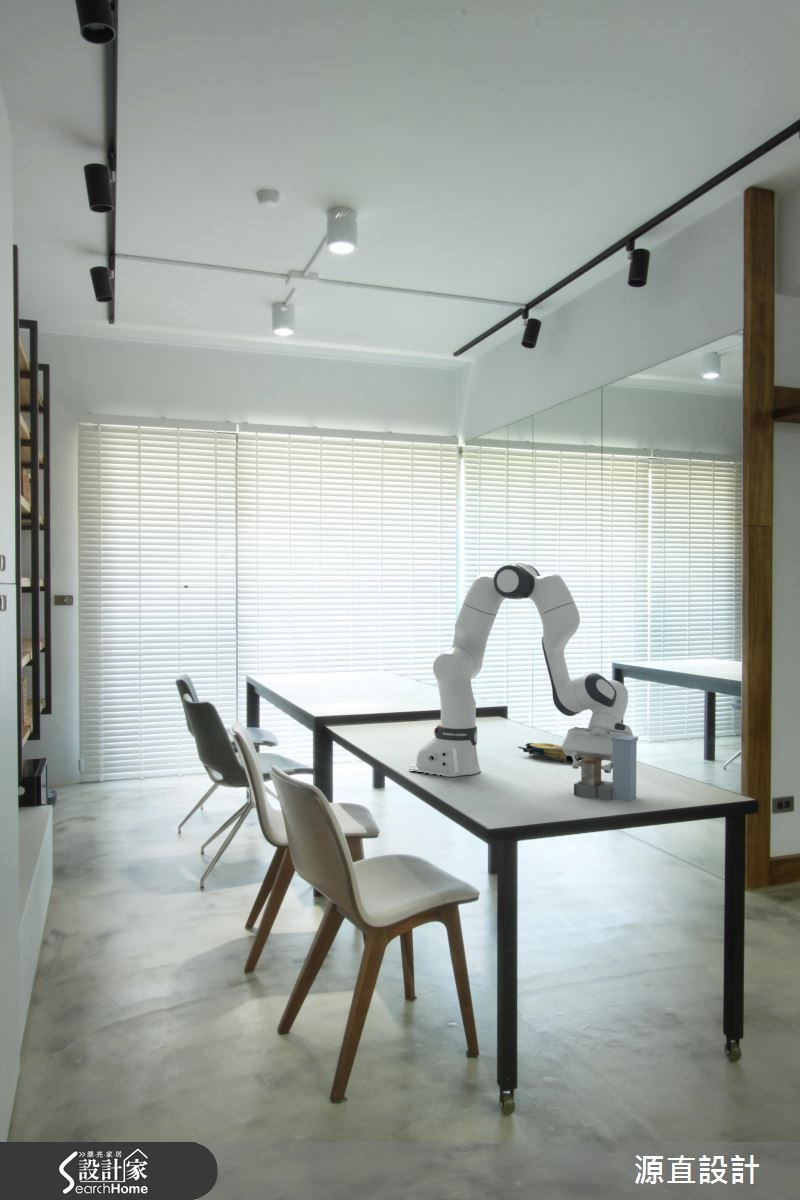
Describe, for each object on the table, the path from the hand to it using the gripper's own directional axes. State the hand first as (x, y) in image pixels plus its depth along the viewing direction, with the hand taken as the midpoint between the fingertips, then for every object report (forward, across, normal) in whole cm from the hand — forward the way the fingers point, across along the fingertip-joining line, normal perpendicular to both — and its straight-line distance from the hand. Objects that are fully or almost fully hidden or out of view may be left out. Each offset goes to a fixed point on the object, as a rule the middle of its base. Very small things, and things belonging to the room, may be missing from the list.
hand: (590, 769), depth 238 cm
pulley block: (-22, -24, +32) cm, 45 cm away
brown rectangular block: (+4, 0, +5) cm, 7 cm away
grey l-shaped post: (+4, +4, +5) cm, 8 cm away
